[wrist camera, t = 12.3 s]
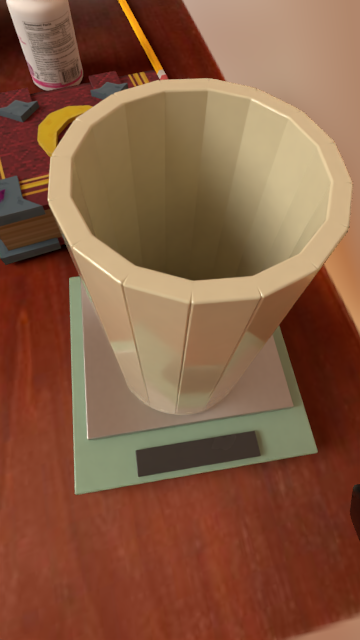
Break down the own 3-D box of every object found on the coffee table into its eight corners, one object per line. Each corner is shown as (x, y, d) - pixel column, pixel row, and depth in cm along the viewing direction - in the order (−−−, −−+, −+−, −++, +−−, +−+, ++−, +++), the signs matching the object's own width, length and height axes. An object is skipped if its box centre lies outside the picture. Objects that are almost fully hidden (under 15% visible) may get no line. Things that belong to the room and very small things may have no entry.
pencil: (162, 87, 32) (161, 79, 32) (110, -11, 40) (109, -19, 39) (169, 85, 33) (170, 78, 32) (117, -12, 40) (116, -20, 39)
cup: (227, 431, 17) (340, 344, 6) (100, 393, 17) (-12, 248, 6) (252, 315, 19) (361, 108, 9) (142, 286, 20) (113, 57, 9)
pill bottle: (33, 65, 33) (-7, -58, 26) (82, 62, 34) (58, -59, 26) (32, 95, 31) (-11, -28, 24) (85, 92, 32) (59, -30, 24)
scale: (303, 455, 19) (324, 451, 16) (84, 493, 18) (71, 495, 15) (250, 274, 24) (260, 250, 21) (77, 294, 23) (66, 271, 20)
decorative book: (-17, 158, 28) (-53, 96, 23) (168, 117, 31) (168, 54, 26) (7, 268, 23) (-31, 218, 19) (220, 207, 26) (231, 151, 22)
